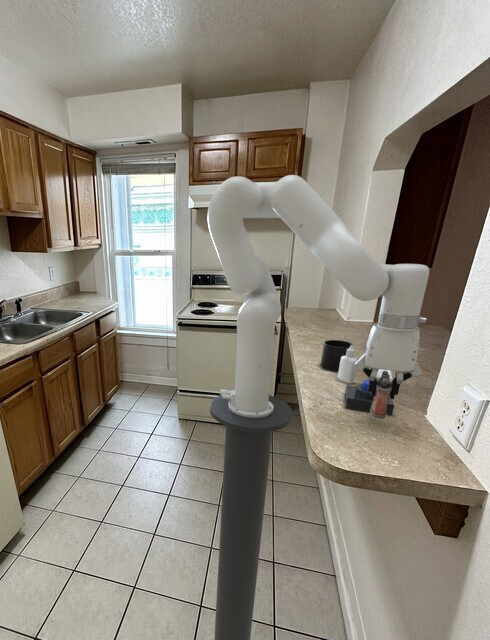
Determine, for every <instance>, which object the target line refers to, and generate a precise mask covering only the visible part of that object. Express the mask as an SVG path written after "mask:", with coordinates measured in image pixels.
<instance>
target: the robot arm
mask: <svg viewBox="0 0 490 640" xmlns="http://www.w3.org/2000/svg"><path fill="white" fill-rule="evenodd" d="M244 219H281V220H282V222H284V224H285V225H286V226H288V228H289V229H290V230H291V231H292V232H293V233H294V234H295V235H296V237H297V238H298V239H299V240H300V241H301V242H302V243H303V245H305V247H306V248H307V249H308V250H309V251H310V252H311V253H312V255H314V256H315V257H316V258H317V259H318V260H319V261H320V262H321V263H322V264H323V266H325V267H326V269H327V270H328V271H329V272H330V273H331V275H333V277H334V278H335V279H336V280H337V281H338V282H339V284H340V285H341V286H343V288H344V289H345V290H346V291H347V292H348V294H350V295H351V296H352V297H353V298H355V299H357V300H359V301H363V302H369V301H373V300H376V299H379V298H380V297H381V296H382V298H381V304H380V309H379V312H378V313H379V314H378V319H377V323H374V324H373V325H372V326H371V329H370V332H369V335H368V338H367V342H366V346H365V350H364V353H363V355H362V356H361V357H360V358H359V359H357V362H356V363H355V366H356V367H357V370H360V371H362V372H363V373H364V374H365V375H366V376H367V378H368V380H369V384H368V391H370V395H371V396H374V395H375V390H376V385H377V379H376V376H377V373H378V371H379V369H383V370H391V372H394V377H393V380H392V382H391V383H392V390H391V392H390V398H391V399H392V400H395V398H396V397H395V396H398V395H399V391H400V388H401V385H402V384H403V383H404V382H405V381H408V380H409V379H410V378H412V377H416V376H419V375H422V374H423V370H422V369H421V367H420V365H419V362H418V355H419V349H420V337H421V336H420V327H419V326H420V325H422V324H423V325H425V324H426V323H427V317H423V316H421V315H420V314H421V311H422V306H423V302H424V297H425V293H426V289H427V285H428V281H429V275H430V267H429V266H428V265H426V264H420V263H396V264H386V263H379V262H378V261H377V260H376V259H375V257H373V256H372V255H371V253H370V252H368V250H367V249H366V248H365V247H364V246H363V245H362V243H360V241H359V240H358V239H357V238H356V237H355V236H354V235H353V233H352V232H351V231H350V230H349V228H348V226H347V225H346V223H345V222H344V221H343V220H342V219H341V218H340V217H339V215H337V213H336V212H335V211H334V210H333V209H332V208H331V207H330V206H329V205H328V204H327V203H326V202H325V201H324V199H323V198H322V197H321V195H319V194H318V193H317V192H316V191H315V189H313V188H312V187H311V185H310V184H309V183H308V182H307V181H306V180H305V179H304V178H303V177H301V176H299V175H295V174H288V175H285V176H283V177H281V178H280V179H278V180H277V181H266V182H265V181H259V182H257V181H256V182H254V181H252V180H250V179H249V178H247V177H245V176H241V175H240V176H239V175H237V176H231V177H229V178H227V179H225V180H223V182H221V184H220V185H219V186H218V187H217V188H216V189H215V191H214V193H213V194H212V196H211V199H210V201H209V204H208V209H207V225H208V230H209V234H210V236H211V240H212V242H213V245H214V248H215V250H216V253H217V257H218V260H219V263H220V265H221V268H222V272H223V274H224V276H225V280H226V283H227V285H228V287H229V289H230V290H231V292H233V293H235V294H236V295H240V296H241V299H242V301H243V304H242V305H241V307H240V308H239V310H238V312H237V317H236V337H237V338H236V339H237V341H236V361H235V362H236V363H235V375H234V377H235V379H234V389H231V390H227V389H224V388H223V389H221V388H220V391H219V396H222V399H229V400H230V401H229V403H228V407H229V409H230V410H231V411H232V412H233V413H235V414H237V415H239V416H243V417H248V418H262V417H266V416H268V415H270V414H271V413H272V412H273V408H274V407H273V405H272V403H271V402H269V401H268V400H269V395H270V387H271V380H272V379H271V377H272V367H273V359H274V358H273V357H274V347H275V346H274V345H275V331H276V323H277V321H278V320H279V318H280V316H281V313H282V305H281V304H282V303H281V300H280V297H279V294H278V292H277V288H276V286H275V283H274V279H273V276H272V274H271V272H270V268H269V266H268V264H267V263H266V261H265V260H264V259H263V258H261V257H260V256H257V255H256V254H255V252H254V248H253V246H252V244H251V239H250V236H249V234H248V232H247V229H246V227H245V225H244V224H245V223H244Z"/></svg>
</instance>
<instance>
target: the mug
mask: <svg viewBox="0 0 490 640" xmlns="http://www.w3.org/2000/svg"><path fill="white" fill-rule="evenodd" d="M351 345H353V346H354V344H353V343H351V342H350V341H345V340H340V339H339V340H338V339H329V340H325V341H323V346H322V354H321V360H320V367H321V368H322V369H324V370H326V371H330V372H335V373H338V372H339V366H340V361H341V357H342V356H346V352H347V349H349V348H350V346H351Z"/></svg>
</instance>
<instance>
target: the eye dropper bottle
mask: <svg viewBox="0 0 490 640" xmlns="http://www.w3.org/2000/svg"><path fill="white" fill-rule="evenodd" d="M355 355H356V350H355V348H354V344H353V345H351V346H350V348H349V349H347V352H346V356H342V357H341V361H340V366H339V372H337V379H338V381H340V382H342V383H345V384H347V385H350V384H355V382H356V376H357V371H358V368H357V367H356V366H355V363H356V362H357V361H358V359H357V358H356V357H355Z"/></svg>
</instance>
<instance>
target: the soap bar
mask: <svg viewBox="0 0 490 640" xmlns="http://www.w3.org/2000/svg"><path fill="white" fill-rule="evenodd" d="M383 371H388V375H390V378H389V379H390V382H392V380H393V379H394V377H393V373H392V370H383V369H379V371H378V373H377V376H376V379H379V378H381V376H382V372H383Z"/></svg>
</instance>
